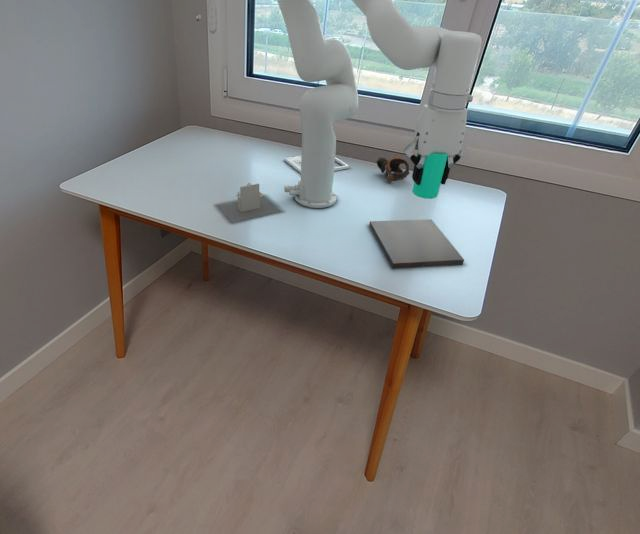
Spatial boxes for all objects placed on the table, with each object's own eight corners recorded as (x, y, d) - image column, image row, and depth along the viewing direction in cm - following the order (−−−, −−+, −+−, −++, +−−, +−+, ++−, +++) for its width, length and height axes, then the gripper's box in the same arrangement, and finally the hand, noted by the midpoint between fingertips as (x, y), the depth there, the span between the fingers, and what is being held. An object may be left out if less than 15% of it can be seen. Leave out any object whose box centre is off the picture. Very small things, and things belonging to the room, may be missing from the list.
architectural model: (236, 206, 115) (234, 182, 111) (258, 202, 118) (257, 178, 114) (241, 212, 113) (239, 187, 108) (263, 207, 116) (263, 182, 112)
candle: (438, 200, 93) (451, 149, 86) (411, 196, 94) (422, 145, 87) (437, 189, 98) (449, 140, 91) (412, 186, 99) (422, 137, 92)
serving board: (392, 268, 95) (393, 263, 94) (369, 226, 111) (369, 221, 110) (462, 264, 99) (464, 259, 98) (430, 223, 114) (431, 219, 114)
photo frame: (284, 157, 145) (327, 151, 153) (284, 160, 146) (327, 154, 154) (304, 172, 135) (349, 165, 143) (304, 175, 136) (348, 168, 144)
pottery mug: (409, 176, 143) (416, 161, 135) (397, 195, 139) (404, 181, 131) (379, 161, 144) (384, 145, 137) (367, 179, 141) (371, 164, 133)
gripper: (476, 97, 88) (455, 175, 99) (402, 95, 85) (388, 176, 96) (494, 106, 82) (469, 188, 93) (415, 104, 79) (399, 190, 90)
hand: (428, 181), depth 94 cm, fingers closed on candle, 5 cm apart
